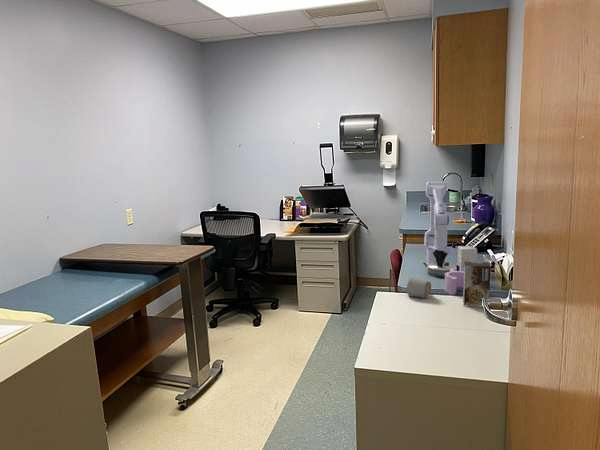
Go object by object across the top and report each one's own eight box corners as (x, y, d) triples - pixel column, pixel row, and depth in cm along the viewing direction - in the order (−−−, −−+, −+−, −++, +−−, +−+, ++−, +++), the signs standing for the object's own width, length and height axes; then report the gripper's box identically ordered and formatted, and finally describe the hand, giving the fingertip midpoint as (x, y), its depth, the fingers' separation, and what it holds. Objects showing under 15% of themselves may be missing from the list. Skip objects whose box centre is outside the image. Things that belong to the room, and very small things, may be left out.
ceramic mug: (426, 300, 170) (426, 281, 169) (406, 297, 174) (406, 279, 174) (433, 294, 179) (434, 276, 178) (414, 291, 183) (414, 273, 182)
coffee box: (487, 302, 167) (489, 262, 164) (489, 308, 161) (491, 265, 158) (462, 300, 169) (464, 260, 167) (463, 306, 163) (465, 264, 161)
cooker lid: (440, 262, 218) (440, 259, 218) (462, 268, 206) (462, 264, 206) (421, 266, 211) (421, 262, 211) (442, 272, 200) (443, 268, 199)
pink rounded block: (444, 281, 197) (445, 267, 196) (473, 283, 193) (474, 268, 192) (444, 294, 178) (444, 278, 177) (476, 297, 174) (477, 280, 173)
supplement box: (472, 270, 216) (473, 245, 214) (476, 274, 208) (477, 248, 207) (456, 270, 216) (457, 245, 215) (460, 274, 209) (461, 248, 207)
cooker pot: (437, 268, 221) (437, 260, 220) (467, 276, 205) (467, 267, 205) (417, 272, 214) (418, 263, 213) (447, 280, 198) (447, 271, 198)
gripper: (423, 237, 210) (422, 264, 212) (447, 241, 198) (446, 270, 200) (433, 236, 214) (432, 262, 216) (457, 240, 202) (456, 268, 203)
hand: (440, 266), depth 208 cm, fingers closed, pressing on cooker lid
